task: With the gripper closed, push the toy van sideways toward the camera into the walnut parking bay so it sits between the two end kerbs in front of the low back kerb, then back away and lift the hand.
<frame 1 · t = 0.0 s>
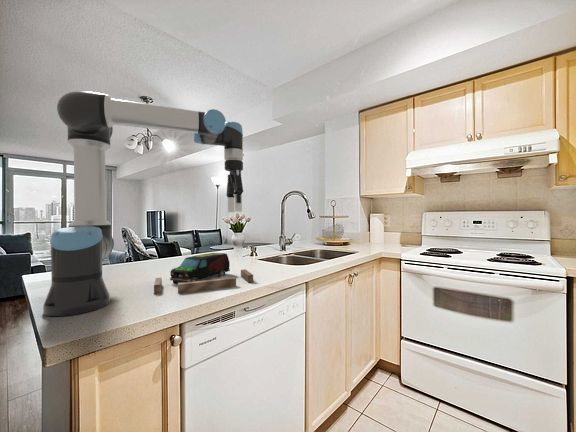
hand: (234, 212, 109), 28 cm above the counter, tool pointing down, fingers open, 13 cm apart
toy van: (202, 279, 111), on the counter
parking bay: (205, 284, 101), on the counter
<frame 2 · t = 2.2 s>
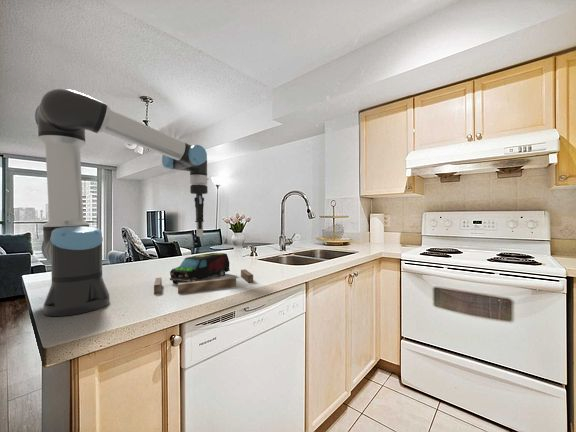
hand: (199, 236, 122), 17 cm above the counter, tool pointing down, fingers closed
nothing on the counter moved.
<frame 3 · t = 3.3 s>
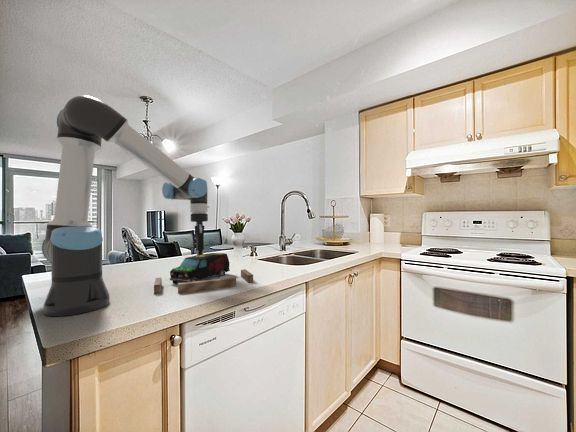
hand: (200, 264, 122), 4 cm above the counter, tool pointing down, fingers closed
nothing on the counter moved.
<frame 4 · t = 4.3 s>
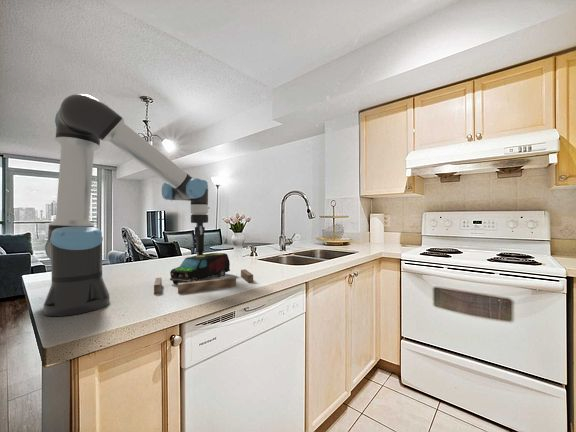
hand: (200, 266, 119), 4 cm above the counter, tool pointing down, fingers closed
toy van: (202, 279, 111), on the counter, touching gripper
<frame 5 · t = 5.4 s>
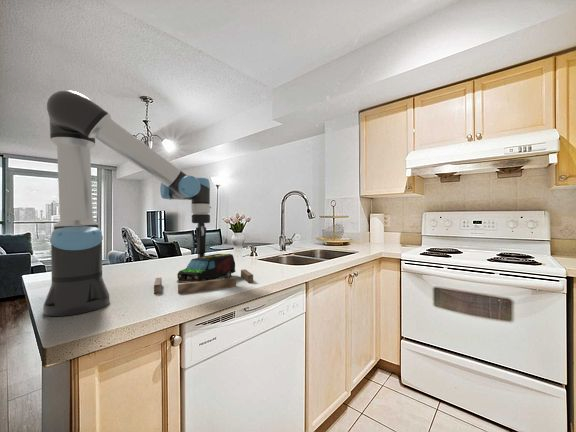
hand: (201, 268, 114), 4 cm above the counter, tool pointing down, fingers closed
toy van: (208, 281, 107), on the counter, touching gripper
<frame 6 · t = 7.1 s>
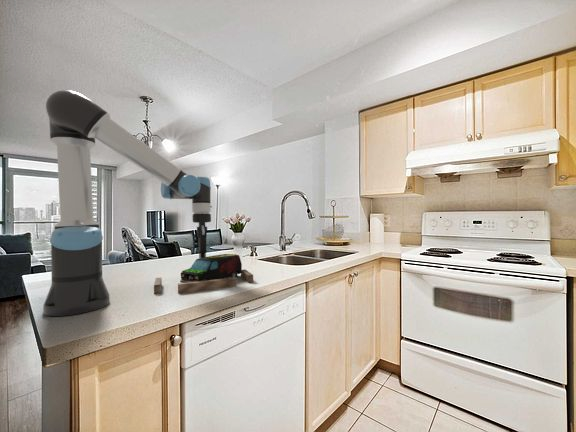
hand: (202, 268, 113), 4 cm above the counter, tool pointing down, fingers closed
toy van: (213, 281, 107), on the counter
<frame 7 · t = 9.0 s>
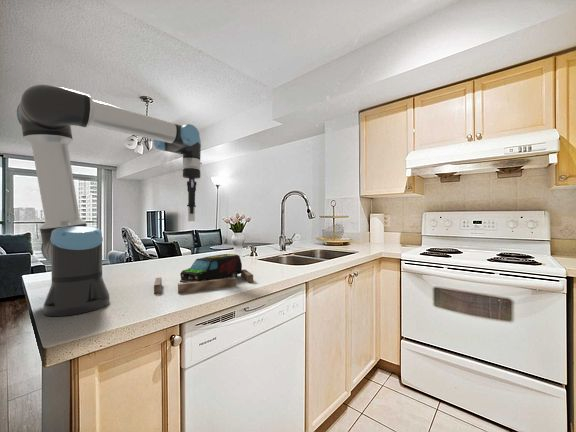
hand: (191, 221, 119), 24 cm above the counter, tool pointing down, fingers closed
nothing on the counter moved.
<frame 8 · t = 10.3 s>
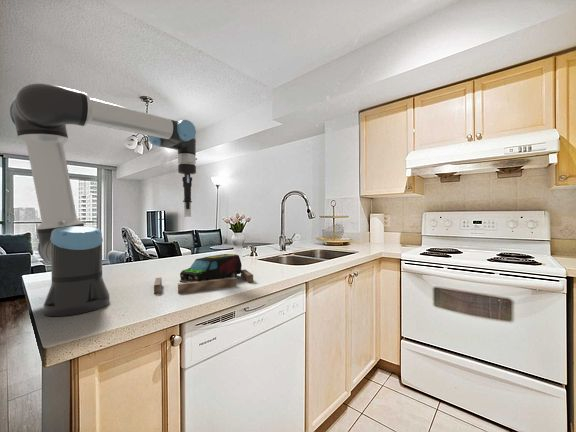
hand: (187, 216, 119), 26 cm above the counter, tool pointing down, fingers closed
nothing on the counter moved.
at the end: toy van inside the target area on the parking bay (4.2 cm from its centre), point 0.0 cm above the parking bay's base; toy van moved 7.0 cm from its start; toy van tilted 0° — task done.
